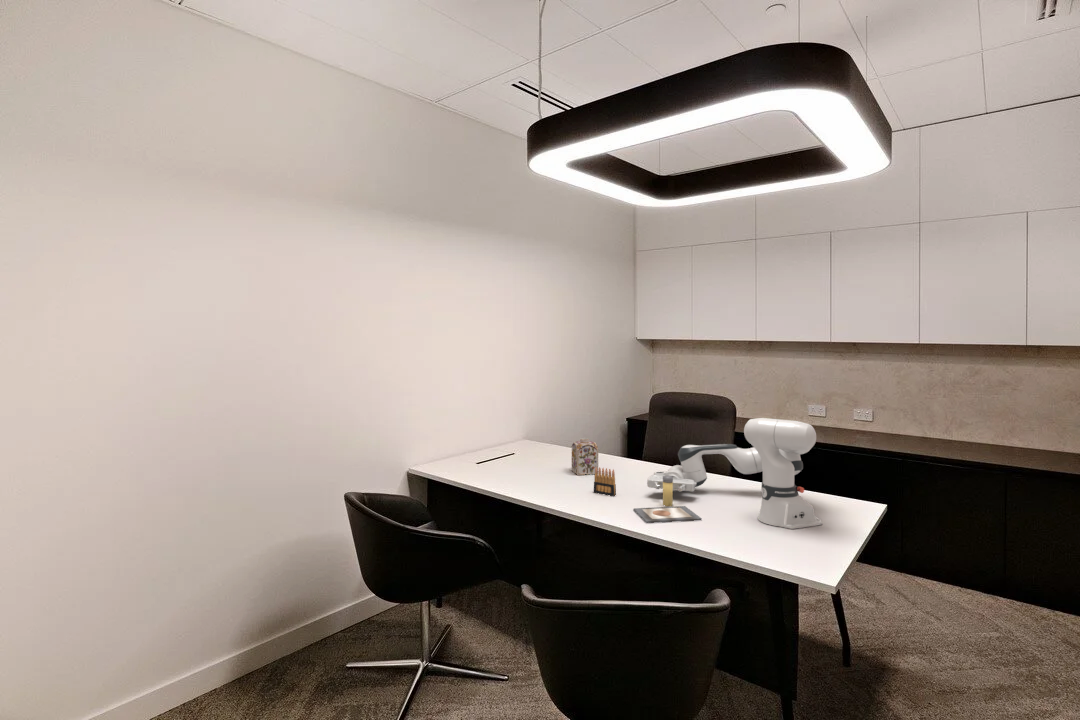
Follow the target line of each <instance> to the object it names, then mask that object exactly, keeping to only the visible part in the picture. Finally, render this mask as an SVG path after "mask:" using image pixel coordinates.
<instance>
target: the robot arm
mask: <svg viewBox="0 0 1080 720" xmlns="http://www.w3.org/2000/svg"><path fill="white" fill-rule="evenodd" d="M743 433H744V434H743V435H744V438H745V440H746V441H747V442H748V443H749V444H751V446H752V447H750V448H749V447H748V448H742V447H739V446H737V444H733V443H717V444H702V445H700V444H699V445H698V444H697V445H696V444H686V445H683V446H681V447H680V449H679V450H678V451H677V456H678V460H679V462H680V465H679V464H676V465H673V466H671V467H670V468H669V469H668V470H666V471H655V472H653V474H652V475H650V476H649V477H648V478H647V481H646V482H647V483H646V484H647V485H646V486H647V487H648V488H650V489H655V490H660V489H662V490H663V476H666V475H668V476H673V492H694V491H695V489H696V488H697V487H700V486H702V485H704V484H705V482H706V481H707V479H708V475H707V471H706V468H705V465H704V462H703V461H704V460H703V458H702V457H703V455H718V454H719V455H723V456H724V457H726V458H727V460H728V461H729V462H730V464H731V465H732V466H733V467H734V469H735V470H736V471H737V472H739V473H740V474H743V475H752V474H757V473H761V472H762V482H761V491H760V492H761V502H760V503H761V505H760V509H759V513H758V517H757V519H758V521H759V522H761V523H764V524H766V525H770V526H775V527H781V528H785V529H789V530H795V529H801V528H802V529H803V528H808V527H815V526H822V525H823V522H822V519H820V518H819V517H817V516H816V513H815V508H814V506H813V505H812V504H811V503H809V502H808V501H807V500H806V499H804V498H803V496H801V495H800V494H799V493H801V494H803V493H805V488H804V487H802V486H797V485H796V484H795V476H796V475H798V474H799V473H800V472H802V470H803V469H804V463H803V461H802V458H801V455H804V454H807V453H808V452H810V450H812V448H813V447H814V446H815V444H816V442H817V433H816V430H815V428H814V427H813V425H811V424H810V423H806V422H803V421H797V420H793V419H792V420H790V419H780V418H779V419H778V418H769V417H767V418H766V417H758V418H750V419H749V420H748V421H747V422H746V423H745V425H744V428H743Z"/></svg>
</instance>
